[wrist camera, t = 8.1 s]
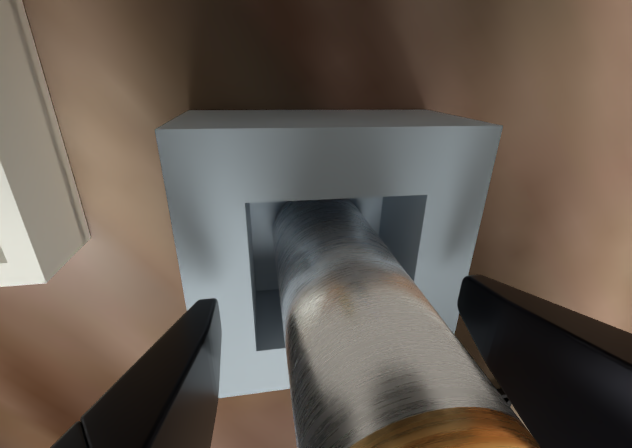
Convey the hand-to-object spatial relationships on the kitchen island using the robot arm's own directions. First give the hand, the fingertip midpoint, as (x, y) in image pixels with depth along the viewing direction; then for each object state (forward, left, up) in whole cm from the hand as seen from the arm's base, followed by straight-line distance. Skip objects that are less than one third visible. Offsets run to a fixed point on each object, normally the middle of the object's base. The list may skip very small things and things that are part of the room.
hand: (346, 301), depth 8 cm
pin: (0, 0, -4) cm, 4 cm away
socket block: (0, 0, -5) cm, 5 cm away
